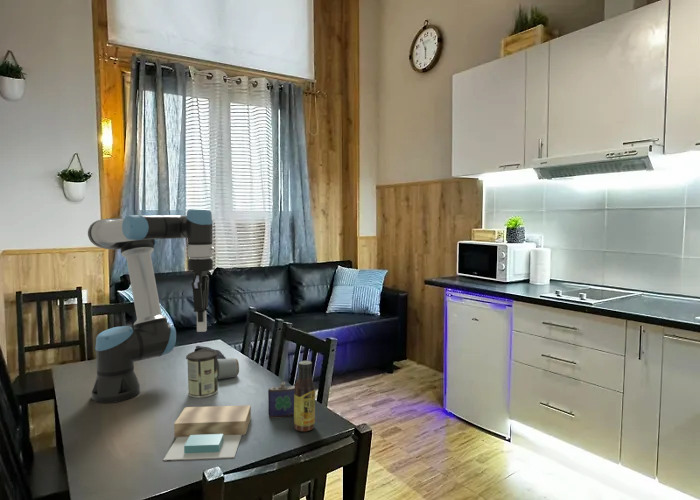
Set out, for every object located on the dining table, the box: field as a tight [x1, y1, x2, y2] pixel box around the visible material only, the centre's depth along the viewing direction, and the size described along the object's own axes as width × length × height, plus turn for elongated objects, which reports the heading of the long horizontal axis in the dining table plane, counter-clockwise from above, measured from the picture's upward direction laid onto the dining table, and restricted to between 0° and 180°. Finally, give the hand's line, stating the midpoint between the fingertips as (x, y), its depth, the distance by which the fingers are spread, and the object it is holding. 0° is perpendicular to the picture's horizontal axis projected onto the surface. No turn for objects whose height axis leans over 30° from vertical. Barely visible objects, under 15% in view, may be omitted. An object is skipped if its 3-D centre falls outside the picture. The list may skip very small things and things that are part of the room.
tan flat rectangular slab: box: [173, 404, 252, 438], centre depth 133 cm, size 20×11×4 cm, turn 95°
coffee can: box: [186, 350, 219, 399], centre depth 159 cm, size 10×10×14 cm
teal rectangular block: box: [184, 434, 223, 453], centre depth 120 cm, size 9×6×2 cm, turn 95°
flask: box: [267, 381, 295, 419], centre depth 140 cm, size 9×3×11 cm, turn 103°
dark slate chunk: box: [186, 345, 227, 359], centre depth 196 cm, size 15×22×5 cm
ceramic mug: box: [217, 357, 240, 380], centre depth 175 cm, size 11×8×8 cm
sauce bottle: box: [293, 360, 316, 433], centre depth 132 cm, size 7×6×20 cm
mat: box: [162, 435, 243, 462], centre depth 121 cm, size 18×12×1 cm, turn 95°
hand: (201, 331), depth 142 cm, fingers closed
